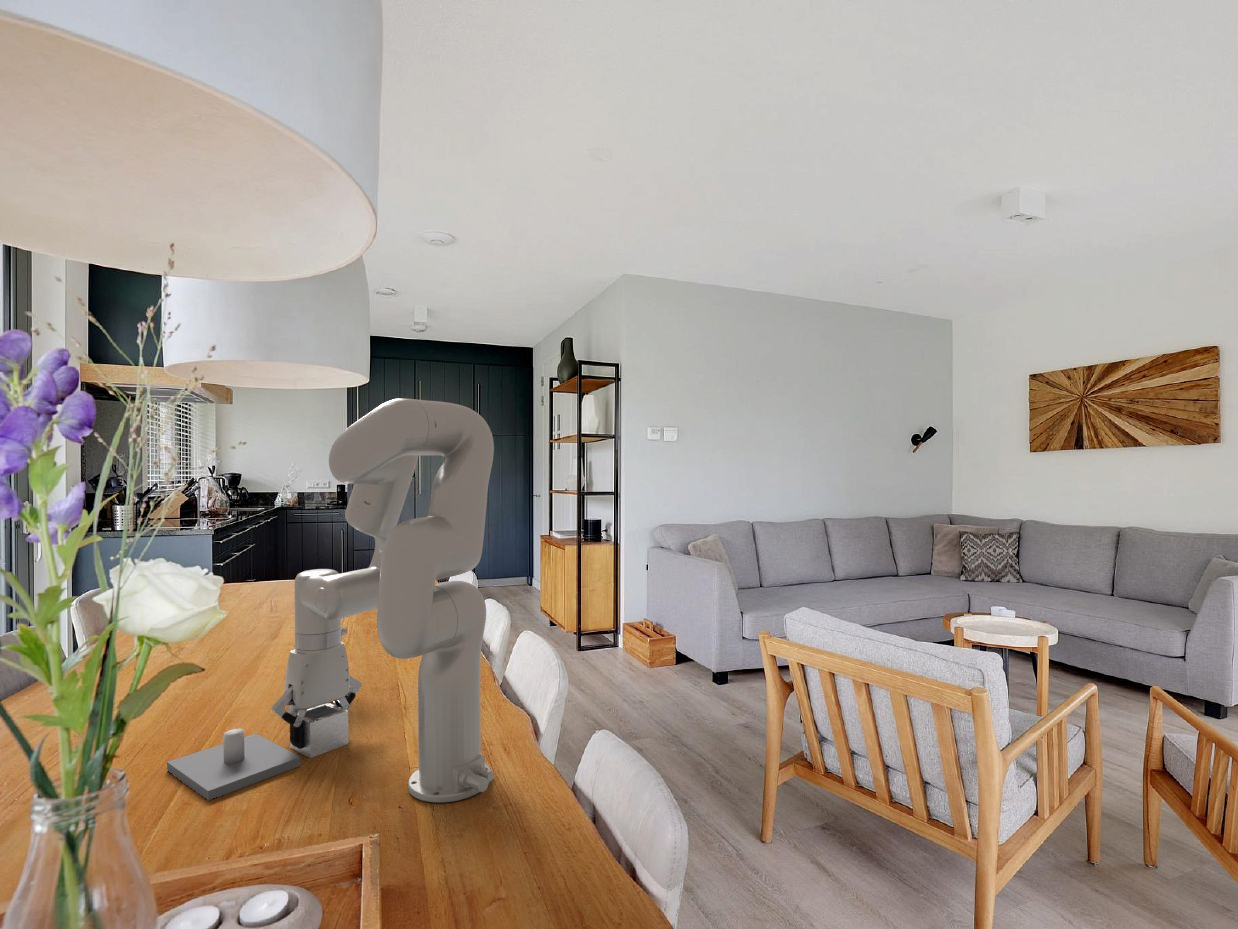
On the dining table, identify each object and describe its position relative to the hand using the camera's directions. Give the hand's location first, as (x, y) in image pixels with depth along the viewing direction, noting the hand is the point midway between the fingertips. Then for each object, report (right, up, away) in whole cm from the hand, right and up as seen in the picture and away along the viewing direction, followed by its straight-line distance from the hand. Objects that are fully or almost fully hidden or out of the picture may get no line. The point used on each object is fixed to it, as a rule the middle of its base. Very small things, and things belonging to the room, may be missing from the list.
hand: (319, 738), depth 118 cm
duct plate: (-10, -1, -9) cm, 13 cm away
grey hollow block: (-2, -1, +1) cm, 3 cm away
